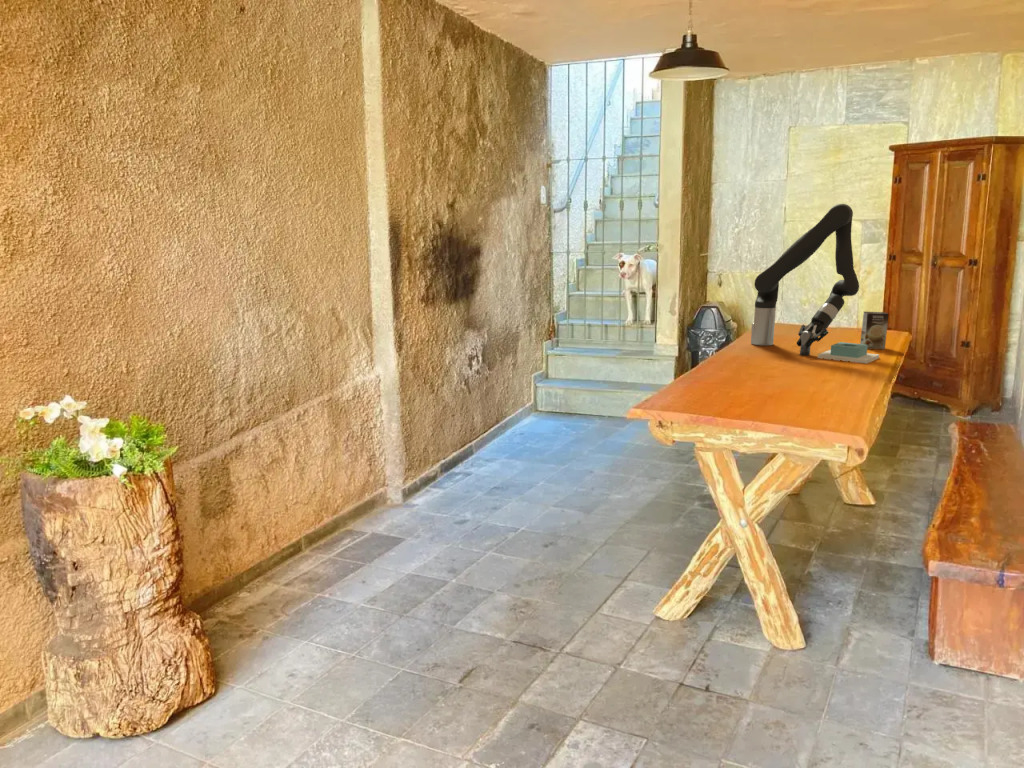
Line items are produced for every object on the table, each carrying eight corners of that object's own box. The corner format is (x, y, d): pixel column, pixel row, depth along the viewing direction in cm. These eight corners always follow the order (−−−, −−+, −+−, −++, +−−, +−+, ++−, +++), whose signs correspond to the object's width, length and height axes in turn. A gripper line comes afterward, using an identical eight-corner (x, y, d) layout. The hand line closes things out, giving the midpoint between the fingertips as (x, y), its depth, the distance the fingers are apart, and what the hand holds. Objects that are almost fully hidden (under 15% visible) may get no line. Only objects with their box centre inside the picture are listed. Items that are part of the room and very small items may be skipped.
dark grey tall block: (798, 354, 345) (800, 331, 343) (801, 353, 348) (803, 330, 346) (807, 355, 343) (809, 332, 341) (811, 354, 346) (812, 331, 344)
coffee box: (864, 349, 359) (867, 313, 355) (859, 346, 365) (862, 311, 362) (885, 349, 358) (889, 313, 354) (880, 346, 364) (883, 311, 361)
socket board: (817, 357, 338) (818, 345, 337) (831, 352, 350) (832, 340, 349) (866, 363, 326) (868, 350, 324) (879, 358, 337) (880, 345, 336)
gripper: (808, 308, 351) (785, 337, 348) (834, 312, 339) (810, 342, 336) (816, 319, 354) (793, 349, 352) (842, 323, 342) (819, 354, 339)
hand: (802, 345), depth 344 cm, fingers closed on dark grey tall block, 4 cm apart
